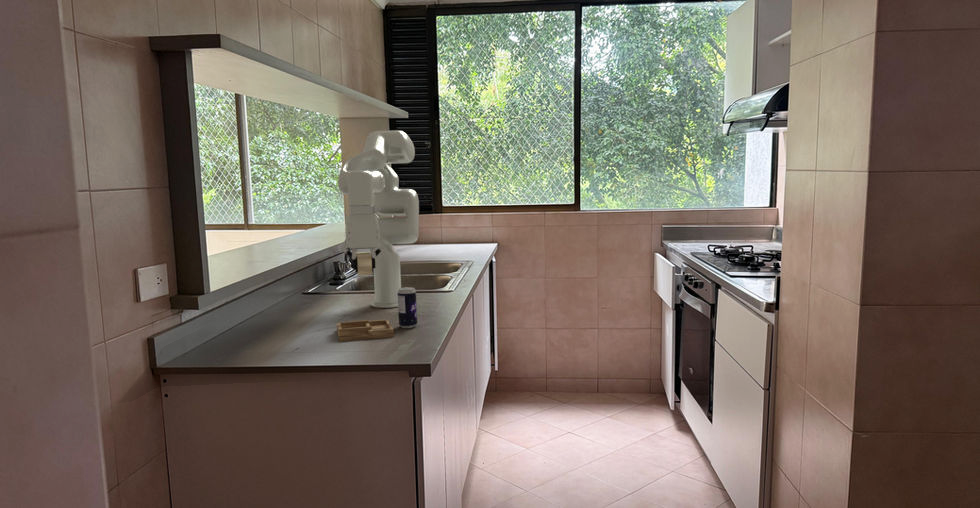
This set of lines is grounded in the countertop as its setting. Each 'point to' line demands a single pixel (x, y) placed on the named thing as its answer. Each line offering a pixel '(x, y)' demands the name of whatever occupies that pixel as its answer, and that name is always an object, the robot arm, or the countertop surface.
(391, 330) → the jig
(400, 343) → the countertop surface
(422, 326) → the countertop surface
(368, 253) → the wing block
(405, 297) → the beverage can
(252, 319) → the countertop surface
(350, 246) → the robot arm
